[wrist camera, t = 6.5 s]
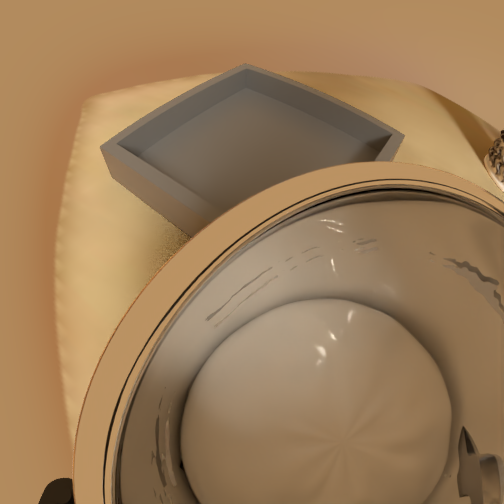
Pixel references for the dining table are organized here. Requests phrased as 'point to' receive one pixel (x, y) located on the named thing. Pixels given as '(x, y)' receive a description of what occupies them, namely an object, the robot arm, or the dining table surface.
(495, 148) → the decorative candle
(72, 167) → the dining table surface
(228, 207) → the serving tray
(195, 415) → the beer glass
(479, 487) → the robot arm
